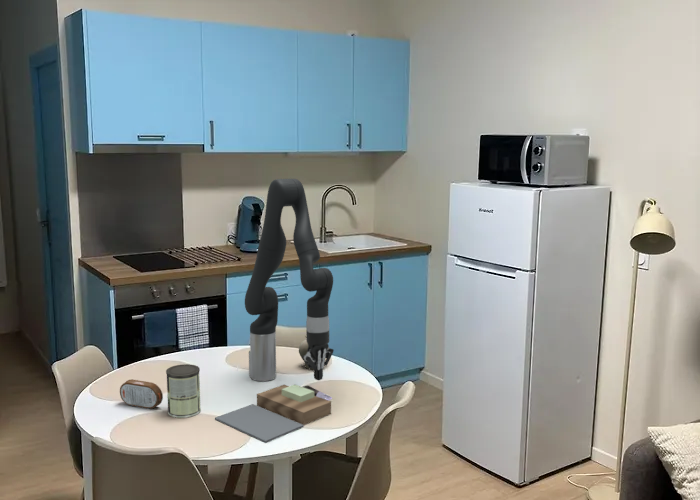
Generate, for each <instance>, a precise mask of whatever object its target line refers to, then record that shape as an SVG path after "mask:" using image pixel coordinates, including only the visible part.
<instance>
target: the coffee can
mask: <svg viewBox="0 0 700 500" xmlns="http://www.w3.org/2000/svg"><path fill="white" fill-rule="evenodd" d="M165 373H166V389H167V393H166V394H167V414H168V416H170V417H171V416H172V418H175V417H176V418H175V419H187V418H192V417H194V416H195V417H196V416H197V415H198V414H200V413H201V411H202V409H201V389H200V387H201V386H200V384H201V383H200V382H201V381H200V367H199V366H198V365H196V364H191V363H190V364H189V363H187V364H184V363H183V364H177V365H173V366H169V367H168V368H167V369H166V370H165Z"/></svg>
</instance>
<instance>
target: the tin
mask: <svg viewBox="0 0 700 500" xmlns="http://www.w3.org/2000/svg"><path fill="white" fill-rule="evenodd" d="M119 396H120V398H121V400H122V402H123V403H125V404H126V405H127V404H128V406H130V405H132V407H136V406H138V407H137V408H142V407H143V408H142V409H147V408H150V409H149V410H151V409H154V408H157V407H158V406H160V405H161V404H162V402H163V399H164V398H163V397H164V395H163V391H162V390H161V388H160V387H159V385H157V383H154V382H149V381H144V380H139V379H128V380H126V381H125V382H124V383H122V384H121V385H120V387H119Z"/></svg>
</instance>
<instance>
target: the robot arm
mask: <svg viewBox="0 0 700 500" xmlns="http://www.w3.org/2000/svg"><path fill="white" fill-rule="evenodd" d="M266 196H267V197H266V205H265V212H264V213H265V214H264V219H263V226H262V229H261V230H262V231H261V235H260V239H259V242H258V247H257V251H256V259H255V262H254V266H253V270H252V274H251V278H250V279H249V283H248V286H247V290H246V292H245V297H244V309H245V310H246V312H247V313H248V314H249V315H250V316H251V315H252V316H257V315H258V317H257V318H256V319H255V320H253V321H251V324H249V346H250V350H249V351H248V376H249V377H250V378H251V380H254V381H257V382H269V381H272V380H274V379H276V378H277V339H276V337H277V334H276V333H277V331H276V330H277V329H276V328H277V325H278V317H279V316H278V314H279V298H278V297H279V296H278V293H277V291H276V290H275V288H273V287H272V286H267V284H268V283H269V280H270V279H271V277H272V276H273V274H275V272H276V271H277V270H278V268H279V267H280V266H281V264H282V262H283V260H284V258H285V252H286V248H287V236H286V234H285V232H284V229H283V227H282V223H281V222H282V212H283V209H284V207H285V208H286V207H291V208H292V210H293V211H294V215H295V216H294V217H295V225H294V230H293V235H292V236H293V239H292V240H293V246H294V249H295V251H296V255H297V258H298V260H299V261H298V263H299V272H300V275H299V278H300V284H301V285H302V287H303V289H304V290H306V291H307V292H309V293H311V292H312V293H313V292H315V294H314V295H313V296H311V297H309V298H308V299H307V302H306V324H305V325H306V326H305V328H306V333H305V334H306V335H305V336H306V337H307V338H306V339H307V343H308V349H307V354H306V355H303V356H302V358H301V360H302V361H303V360H304V361H305V362H304V361H303V362H304V364H305V363H306V364H307V365H308V367H309V368H312V369H314V370H313V377H314V380H316V381H321V380H323V376H324V368H325V367H326V366H328V364H329V363H330V359H331V358H332V356H333V353H334V351H335V350H334V349H333V348H330V347H329V343H330V319H329V301H330V298H331V294H332V292H333V291H332V290H333V285H334V275H333V273H332V271H331V270H330V269H329V268H326V267H319V268H314V264H315V263H317V262H318V261H319V260H320V259H321V255H320V251H319V247H318V245H317V242H316V240H315V236H314V233H313V229H312V224H311V218H310V213H309V207H308V201H307V196H306V191H305V187H304V186H303V183H302V182H301V181H300V180H299V179H297V178H277V179H273V180H272V181H271V183H270V184H269V187H268V190H267V195H266Z"/></svg>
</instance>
